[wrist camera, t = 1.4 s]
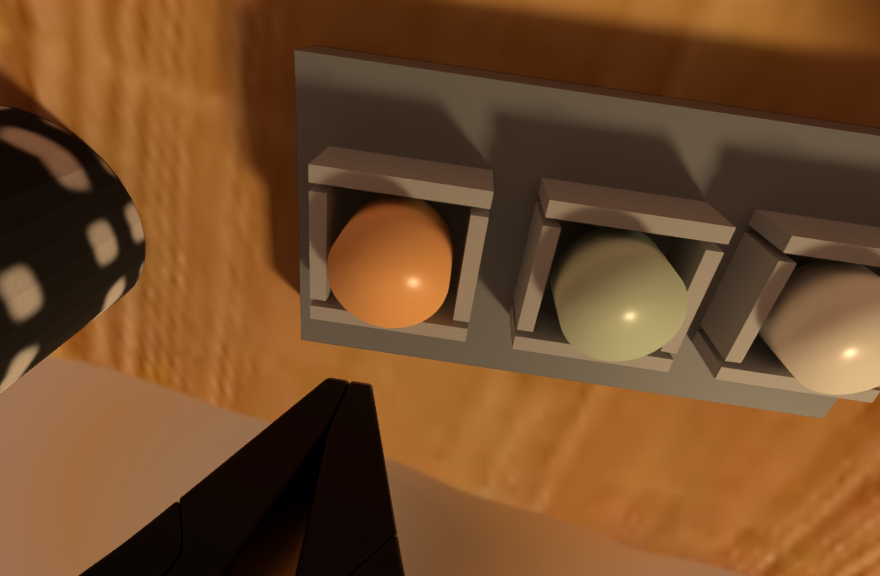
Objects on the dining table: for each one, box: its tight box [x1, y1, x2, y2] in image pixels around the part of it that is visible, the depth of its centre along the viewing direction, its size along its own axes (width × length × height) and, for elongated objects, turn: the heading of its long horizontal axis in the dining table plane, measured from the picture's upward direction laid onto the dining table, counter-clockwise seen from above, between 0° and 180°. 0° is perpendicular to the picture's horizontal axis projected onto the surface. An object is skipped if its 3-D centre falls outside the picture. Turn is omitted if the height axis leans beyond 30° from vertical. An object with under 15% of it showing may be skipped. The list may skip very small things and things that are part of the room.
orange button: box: [327, 194, 454, 328], centre depth 14 cm, size 3×3×2 cm
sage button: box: [551, 227, 688, 361], centre depth 14 cm, size 3×3×2 cm
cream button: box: [758, 259, 880, 395], centre depth 14 cm, size 3×3×2 cm
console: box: [294, 46, 880, 418], centre depth 16 cm, size 20×10×4 cm, turn 83°
